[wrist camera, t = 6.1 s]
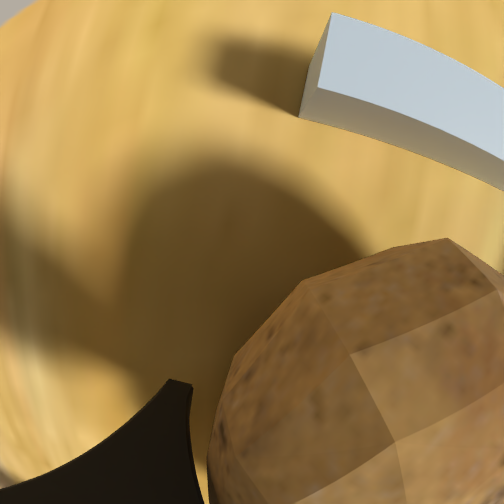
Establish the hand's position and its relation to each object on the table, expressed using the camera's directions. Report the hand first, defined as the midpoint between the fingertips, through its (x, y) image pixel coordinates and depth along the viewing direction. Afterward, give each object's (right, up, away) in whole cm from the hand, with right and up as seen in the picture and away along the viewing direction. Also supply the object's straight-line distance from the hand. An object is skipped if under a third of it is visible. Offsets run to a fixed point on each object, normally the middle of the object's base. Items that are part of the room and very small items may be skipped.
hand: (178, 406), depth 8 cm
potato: (+6, -1, +2) cm, 6 cm away
